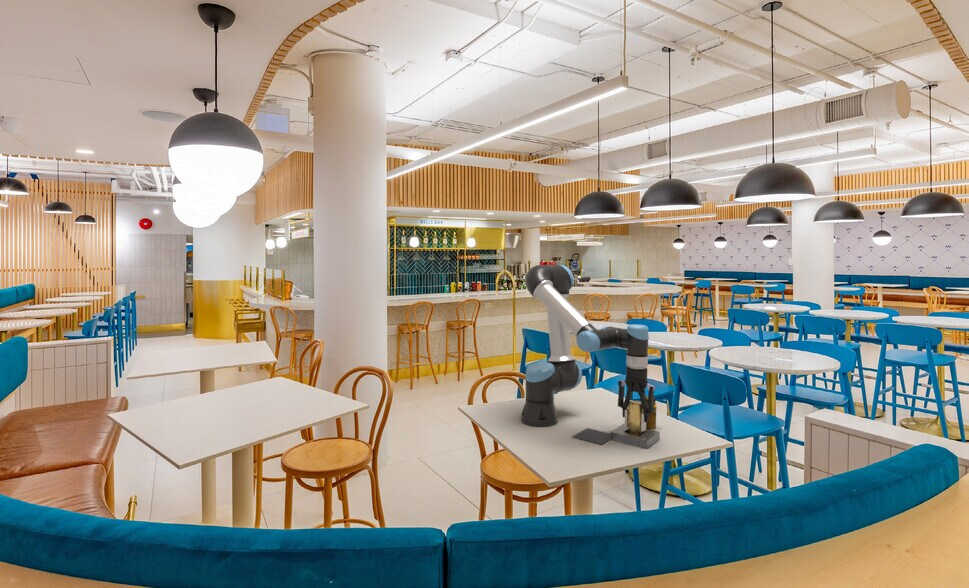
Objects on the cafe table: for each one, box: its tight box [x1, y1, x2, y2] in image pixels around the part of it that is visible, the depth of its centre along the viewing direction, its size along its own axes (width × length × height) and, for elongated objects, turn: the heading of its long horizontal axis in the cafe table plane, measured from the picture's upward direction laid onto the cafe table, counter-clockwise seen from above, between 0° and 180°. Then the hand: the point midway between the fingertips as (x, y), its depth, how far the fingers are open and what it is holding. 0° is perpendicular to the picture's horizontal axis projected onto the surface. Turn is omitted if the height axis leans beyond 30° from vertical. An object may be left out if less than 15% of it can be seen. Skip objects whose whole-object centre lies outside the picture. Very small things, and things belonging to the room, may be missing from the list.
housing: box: [609, 423, 661, 450], centre depth 185 cm, size 14×12×3 cm
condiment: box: [646, 395, 661, 431], centre depth 198 cm, size 7×8×12 cm
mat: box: [571, 427, 611, 446], centre depth 188 cm, size 12×12×1 cm
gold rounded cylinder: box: [627, 400, 643, 436], centre depth 184 cm, size 5×5×14 cm
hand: (635, 428), depth 184 cm, fingers open, 6 cm apart
